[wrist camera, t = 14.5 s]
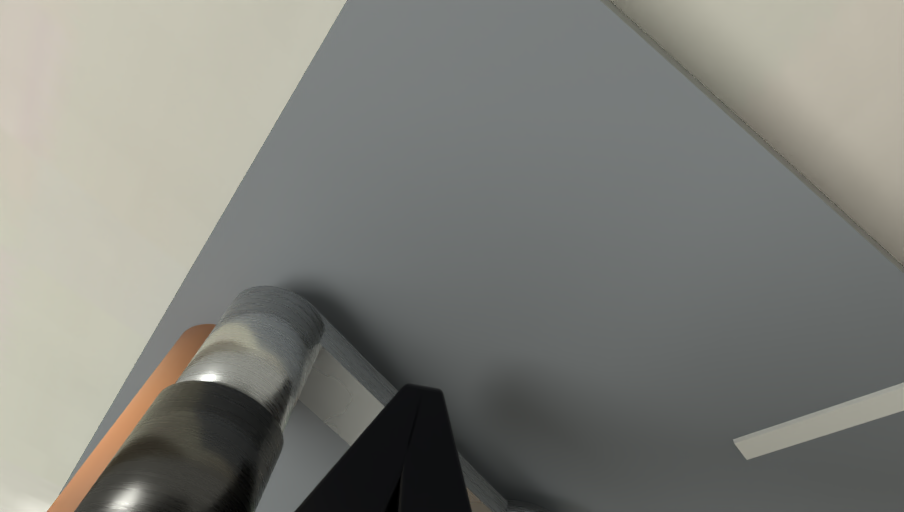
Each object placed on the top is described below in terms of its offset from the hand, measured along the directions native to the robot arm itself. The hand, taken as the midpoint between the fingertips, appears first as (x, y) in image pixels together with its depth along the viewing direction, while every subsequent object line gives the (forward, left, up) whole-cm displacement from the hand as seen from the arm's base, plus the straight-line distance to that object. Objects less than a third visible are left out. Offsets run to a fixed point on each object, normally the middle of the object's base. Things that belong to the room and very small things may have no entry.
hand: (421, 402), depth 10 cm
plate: (-4, -4, -3) cm, 6 cm away
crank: (-3, -1, -1) cm, 3 cm away
